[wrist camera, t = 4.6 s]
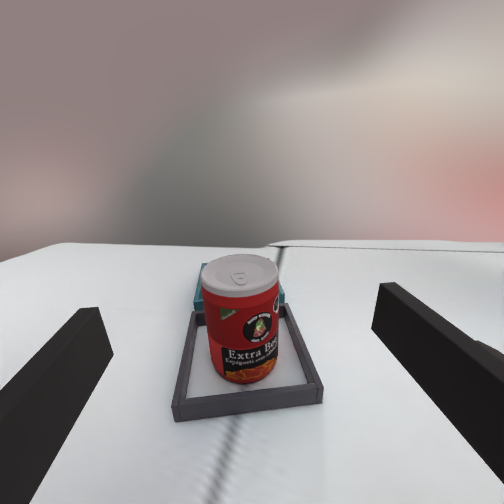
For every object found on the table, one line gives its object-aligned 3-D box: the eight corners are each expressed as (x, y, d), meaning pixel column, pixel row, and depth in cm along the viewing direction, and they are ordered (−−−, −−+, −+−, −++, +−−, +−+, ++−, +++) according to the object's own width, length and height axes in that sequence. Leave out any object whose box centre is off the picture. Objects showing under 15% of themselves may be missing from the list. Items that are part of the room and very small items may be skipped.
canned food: (225, 399, 22) (213, 300, 18) (202, 344, 29) (190, 262, 25) (292, 367, 25) (296, 276, 21) (258, 324, 32) (255, 248, 28)
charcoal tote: (287, 314, 34) (287, 302, 33) (322, 403, 22) (324, 387, 21) (193, 323, 33) (191, 311, 32) (174, 422, 20) (170, 406, 20)
